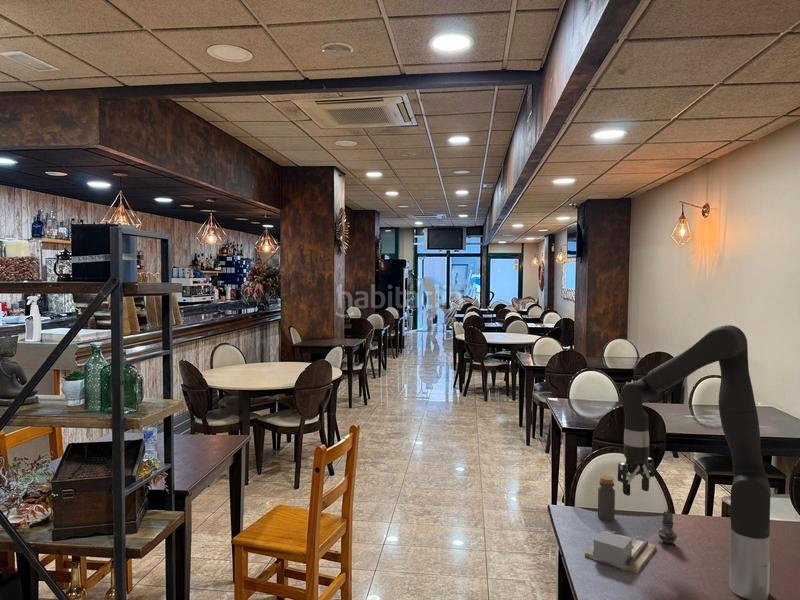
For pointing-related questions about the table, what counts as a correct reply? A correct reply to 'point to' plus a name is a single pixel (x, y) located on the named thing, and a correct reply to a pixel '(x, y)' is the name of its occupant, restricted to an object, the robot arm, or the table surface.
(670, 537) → the salt shaker
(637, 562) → the board
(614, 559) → the cover
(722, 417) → the robot arm
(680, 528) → the table surface
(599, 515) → the bottle
